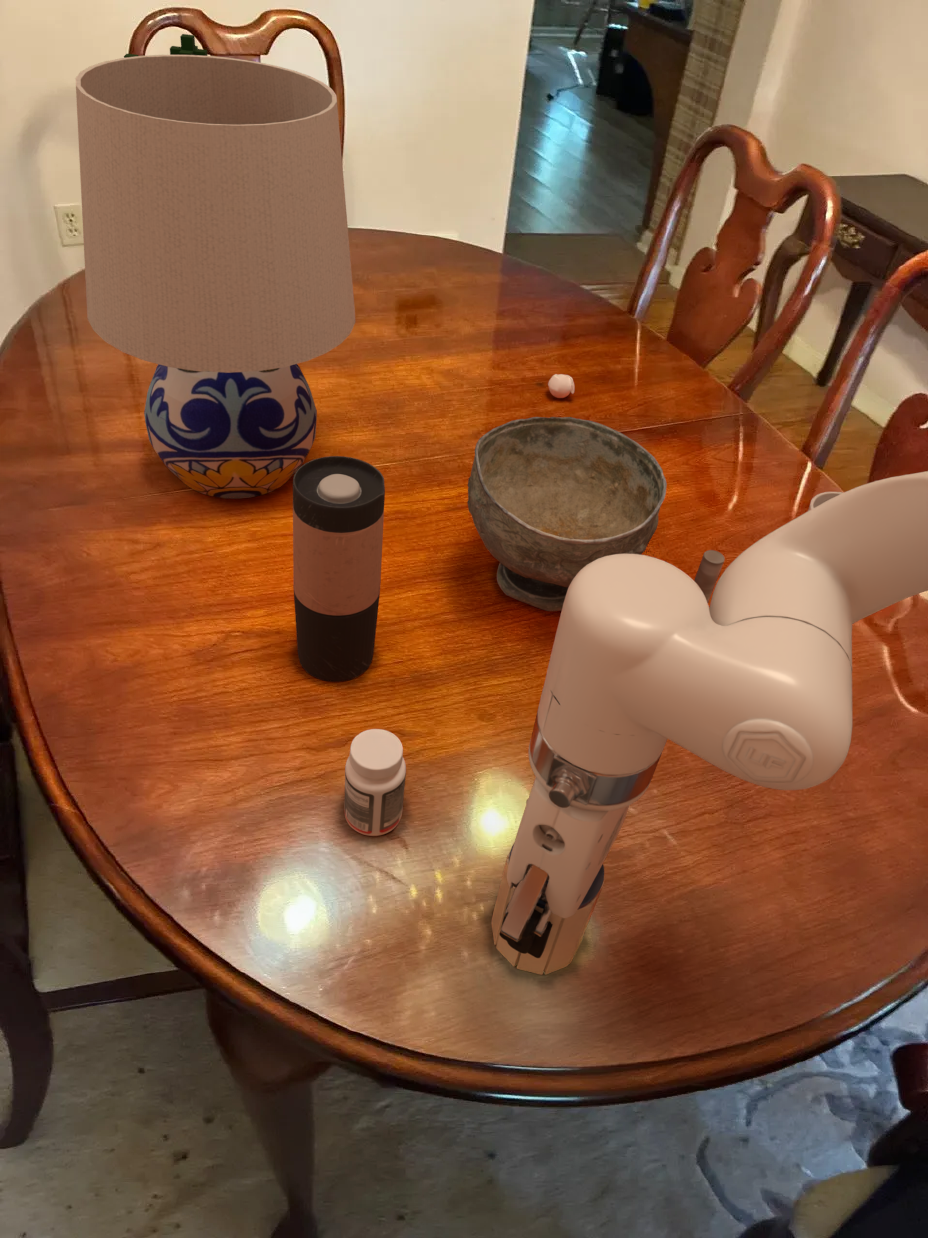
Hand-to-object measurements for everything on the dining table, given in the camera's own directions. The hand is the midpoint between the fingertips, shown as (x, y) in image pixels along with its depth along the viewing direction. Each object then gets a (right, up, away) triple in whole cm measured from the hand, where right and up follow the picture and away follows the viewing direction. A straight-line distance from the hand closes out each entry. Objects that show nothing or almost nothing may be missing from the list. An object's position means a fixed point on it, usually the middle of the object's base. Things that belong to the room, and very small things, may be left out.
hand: (545, 902), depth 66 cm
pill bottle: (-13, +4, +9) cm, 17 cm away
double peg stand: (+20, +16, +27) cm, 37 cm away
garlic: (+7, +52, +64) cm, 83 cm away
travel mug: (-18, +17, +22) cm, 33 cm away
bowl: (+3, +24, +33) cm, 41 cm away
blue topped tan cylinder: (0, -3, +3) cm, 4 cm away
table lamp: (-33, +38, +43) cm, 67 cm away
